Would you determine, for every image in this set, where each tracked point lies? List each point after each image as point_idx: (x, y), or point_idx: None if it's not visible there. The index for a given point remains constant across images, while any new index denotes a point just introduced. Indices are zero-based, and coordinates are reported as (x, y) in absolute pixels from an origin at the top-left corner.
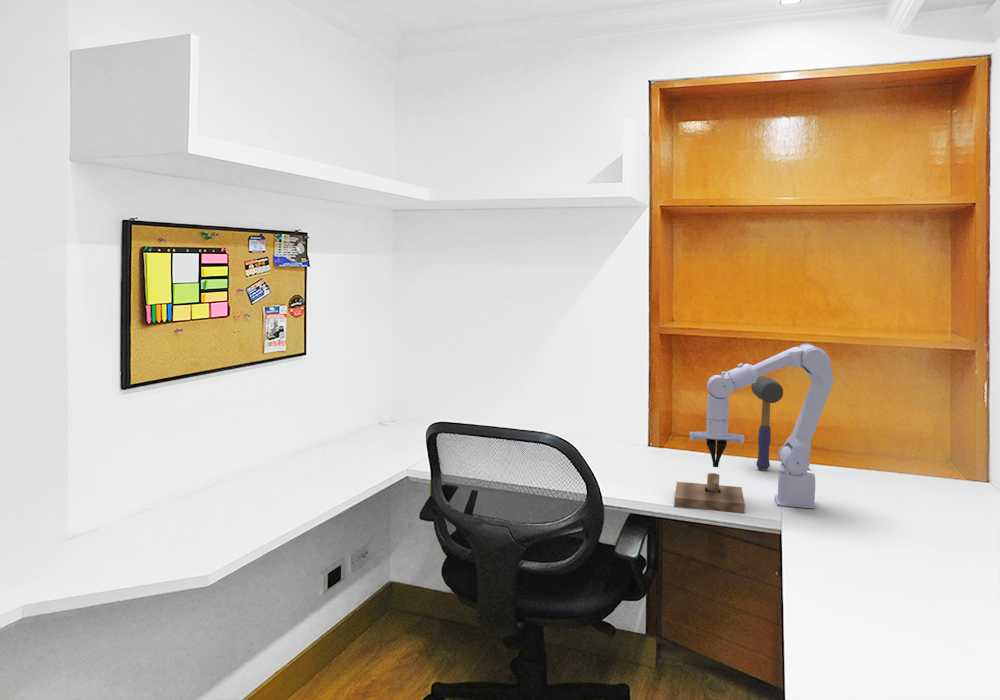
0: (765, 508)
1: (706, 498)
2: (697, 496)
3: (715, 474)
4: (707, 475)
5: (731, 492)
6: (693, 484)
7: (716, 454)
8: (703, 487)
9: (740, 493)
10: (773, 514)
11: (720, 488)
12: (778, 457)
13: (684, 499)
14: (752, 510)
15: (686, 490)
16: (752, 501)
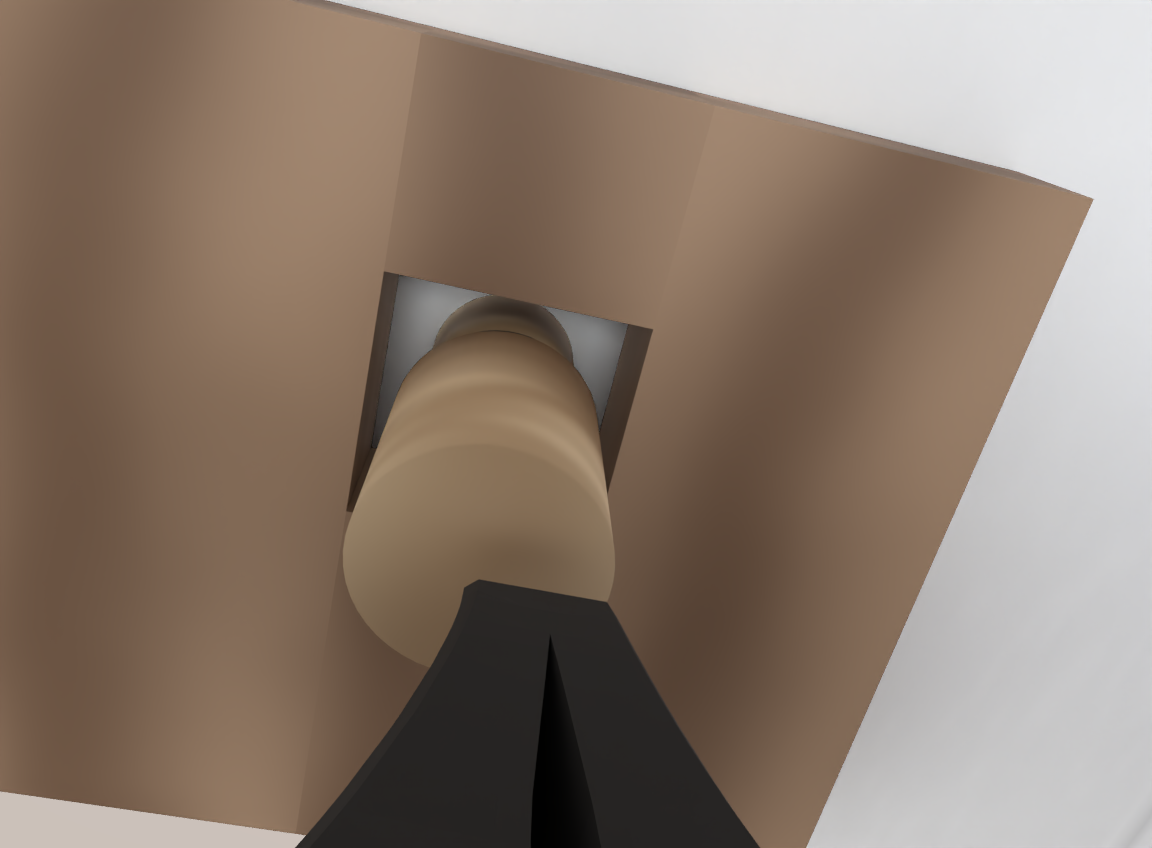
0: (1082, 662)
1: (326, 772)
2: (203, 711)
3: (534, 542)
4: (347, 541)
5: (778, 508)
6: (176, 87)
7: (584, 824)
8: (356, 271)
9: (905, 542)
10: (1066, 820)
11: (661, 308)
12: None
13: (20, 779)
14: (889, 732)
15: (35, 459)
16: (1055, 426)
